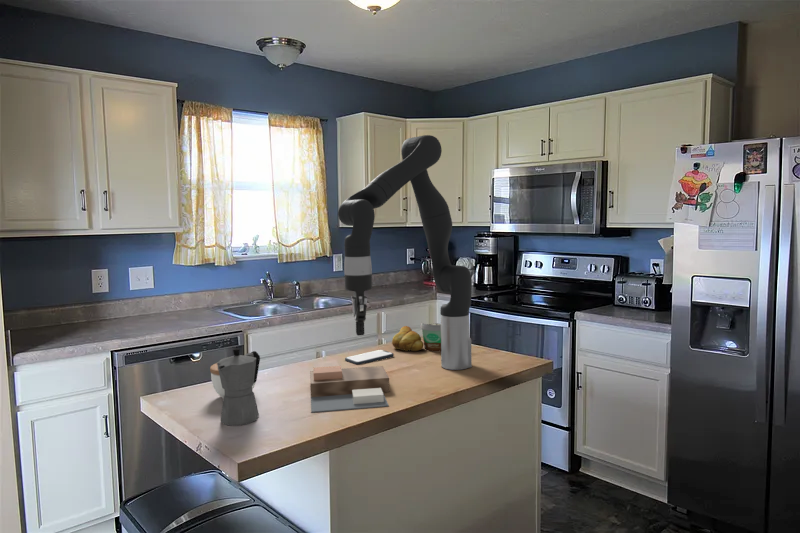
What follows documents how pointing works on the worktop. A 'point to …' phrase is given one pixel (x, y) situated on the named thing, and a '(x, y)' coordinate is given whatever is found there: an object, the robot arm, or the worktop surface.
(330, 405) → the rubber mat
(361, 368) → the walnut board
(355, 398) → the tile cream
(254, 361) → the coffeepot
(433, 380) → the worktop surface
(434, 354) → the worktop surface
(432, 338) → the food container
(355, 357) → the phone case
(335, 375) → the tile terracotta
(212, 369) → the lidded bowl
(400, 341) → the bread roll
